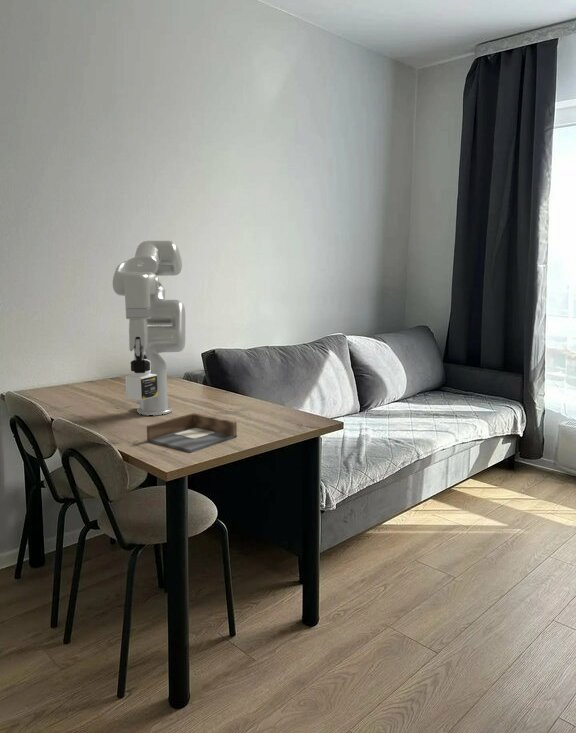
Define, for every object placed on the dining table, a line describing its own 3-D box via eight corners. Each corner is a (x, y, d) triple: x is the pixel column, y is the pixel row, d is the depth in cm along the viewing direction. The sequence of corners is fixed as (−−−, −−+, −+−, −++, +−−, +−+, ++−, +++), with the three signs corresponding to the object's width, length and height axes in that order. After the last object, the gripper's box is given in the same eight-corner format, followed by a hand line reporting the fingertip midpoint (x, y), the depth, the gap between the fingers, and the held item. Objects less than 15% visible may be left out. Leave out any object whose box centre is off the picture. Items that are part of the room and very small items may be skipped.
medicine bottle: (142, 400, 194) (140, 362, 192) (125, 397, 198) (123, 360, 195) (158, 396, 200) (156, 359, 198) (142, 393, 204) (140, 357, 201)
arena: (147, 441, 193) (146, 425, 192) (194, 427, 209) (193, 413, 208) (190, 452, 182) (190, 435, 181) (236, 437, 198) (236, 421, 197)
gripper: (128, 311, 202) (131, 366, 205) (122, 316, 185) (125, 376, 188) (152, 310, 203) (154, 365, 206) (148, 316, 186) (151, 375, 189)
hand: (140, 370), depth 197 cm, fingers closed on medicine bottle, 6 cm apart
